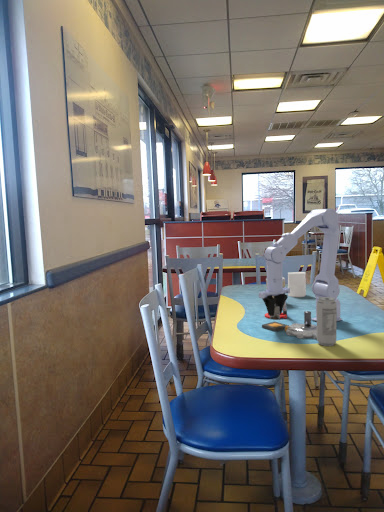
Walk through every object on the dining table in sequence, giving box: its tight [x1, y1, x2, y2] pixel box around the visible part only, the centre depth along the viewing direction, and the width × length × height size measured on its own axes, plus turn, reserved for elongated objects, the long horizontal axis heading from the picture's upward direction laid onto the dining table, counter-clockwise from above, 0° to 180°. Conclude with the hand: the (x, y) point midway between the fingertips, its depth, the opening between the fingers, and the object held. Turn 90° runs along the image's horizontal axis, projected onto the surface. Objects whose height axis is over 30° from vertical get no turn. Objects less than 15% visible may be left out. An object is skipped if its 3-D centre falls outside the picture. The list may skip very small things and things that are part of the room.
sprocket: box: [284, 310, 317, 340], centre depth 132 cm, size 14×14×6 cm
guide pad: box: [261, 321, 290, 332], centre depth 140 cm, size 7×7×1 cm
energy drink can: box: [316, 297, 337, 347], centre depth 120 cm, size 6×6×15 cm
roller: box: [269, 304, 281, 321], centre depth 139 cm, size 4×4×5 cm
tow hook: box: [264, 286, 288, 320], centre depth 155 cm, size 8×13×9 cm
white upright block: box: [287, 271, 307, 298], centre depth 195 cm, size 9×9×12 cm
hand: (275, 314), depth 139 cm, fingers closed on roller, 4 cm apart
